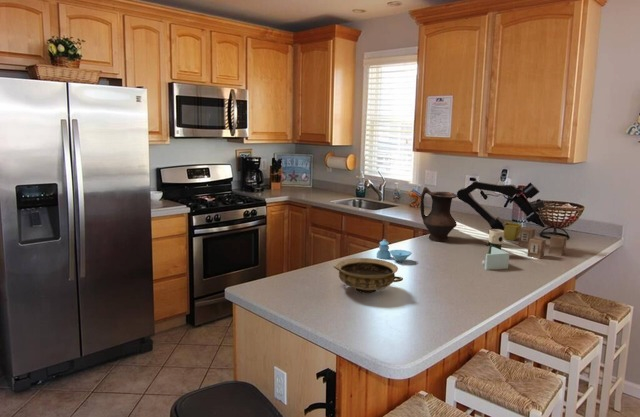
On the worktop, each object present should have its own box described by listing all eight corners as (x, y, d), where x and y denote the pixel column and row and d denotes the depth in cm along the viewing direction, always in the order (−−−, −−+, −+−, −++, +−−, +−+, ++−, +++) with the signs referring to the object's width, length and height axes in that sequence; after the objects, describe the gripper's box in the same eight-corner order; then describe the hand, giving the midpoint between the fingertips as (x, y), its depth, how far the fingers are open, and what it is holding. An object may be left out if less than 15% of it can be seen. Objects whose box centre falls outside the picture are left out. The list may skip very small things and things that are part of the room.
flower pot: (516, 242, 278) (517, 226, 277) (500, 239, 284) (501, 224, 282) (520, 239, 285) (521, 224, 284) (505, 236, 291) (506, 222, 289)
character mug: (497, 258, 242) (499, 233, 239) (483, 256, 246) (485, 230, 244) (505, 254, 250) (507, 230, 248) (491, 252, 254) (494, 227, 252)
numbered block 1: (529, 246, 269) (530, 230, 268) (518, 244, 273) (520, 228, 272) (533, 244, 274) (535, 228, 272) (523, 242, 278) (524, 227, 276)
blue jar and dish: (415, 261, 233) (416, 243, 231) (403, 266, 225) (404, 247, 224) (383, 254, 245) (384, 236, 243) (371, 258, 237) (372, 240, 235)
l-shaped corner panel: (491, 261, 238) (493, 246, 236) (507, 268, 226) (509, 253, 225) (470, 263, 234) (471, 248, 233) (485, 270, 223) (487, 254, 221)
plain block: (560, 255, 251) (562, 238, 250) (548, 253, 255) (550, 236, 254) (564, 253, 255) (566, 237, 254) (552, 251, 260) (554, 235, 258)
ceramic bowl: (414, 290, 192) (415, 266, 190) (385, 308, 173) (387, 281, 171) (349, 275, 209) (350, 252, 207) (316, 289, 190) (317, 265, 188)
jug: (452, 236, 287) (456, 186, 282) (458, 244, 269) (462, 190, 264) (416, 234, 289) (419, 184, 284) (419, 242, 271) (422, 188, 266)
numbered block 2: (539, 259, 243) (541, 241, 242) (527, 256, 248) (528, 239, 246) (543, 256, 248) (545, 239, 246) (532, 254, 252) (533, 237, 251)
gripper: (535, 196, 247) (557, 220, 244) (537, 192, 264) (557, 214, 261) (517, 210, 252) (538, 233, 249) (520, 205, 269) (540, 227, 266)
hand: (544, 226), depth 256 cm, fingers closed
